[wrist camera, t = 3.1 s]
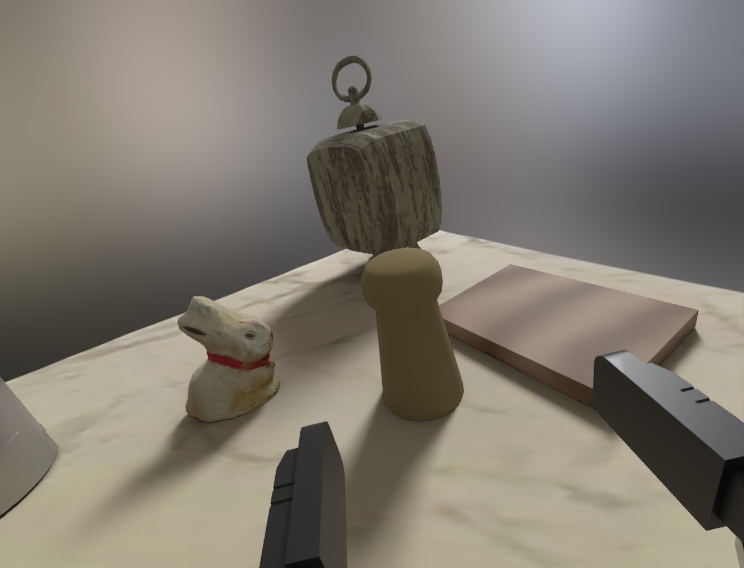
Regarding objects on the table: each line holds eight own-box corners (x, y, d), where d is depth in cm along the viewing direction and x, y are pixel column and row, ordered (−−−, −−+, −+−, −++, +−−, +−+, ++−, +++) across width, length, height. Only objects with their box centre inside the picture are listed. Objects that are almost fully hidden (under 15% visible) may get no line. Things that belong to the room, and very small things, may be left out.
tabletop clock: (450, 264, 45) (421, 34, 35) (399, 295, 41) (348, 41, 30) (378, 248, 56) (339, 69, 46) (332, 271, 52) (277, 78, 41)
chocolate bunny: (265, 424, 27) (213, 313, 23) (182, 422, 29) (120, 320, 25) (294, 375, 32) (256, 275, 28) (221, 376, 34) (175, 284, 30)
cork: (442, 433, 23) (416, 282, 18) (367, 405, 27) (330, 273, 22) (476, 373, 27) (461, 238, 22) (407, 356, 31) (382, 236, 26)
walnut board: (695, 327, 27) (698, 310, 26) (611, 416, 21) (612, 398, 21) (511, 276, 39) (510, 264, 39) (430, 325, 34) (428, 311, 34)
